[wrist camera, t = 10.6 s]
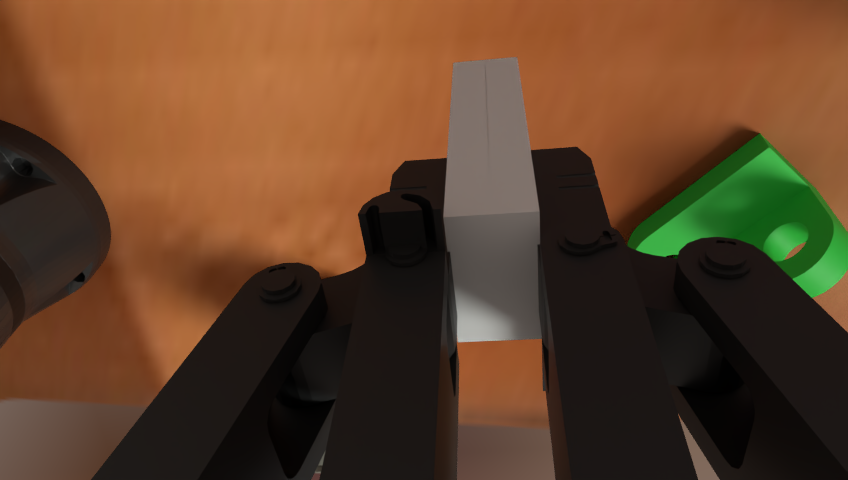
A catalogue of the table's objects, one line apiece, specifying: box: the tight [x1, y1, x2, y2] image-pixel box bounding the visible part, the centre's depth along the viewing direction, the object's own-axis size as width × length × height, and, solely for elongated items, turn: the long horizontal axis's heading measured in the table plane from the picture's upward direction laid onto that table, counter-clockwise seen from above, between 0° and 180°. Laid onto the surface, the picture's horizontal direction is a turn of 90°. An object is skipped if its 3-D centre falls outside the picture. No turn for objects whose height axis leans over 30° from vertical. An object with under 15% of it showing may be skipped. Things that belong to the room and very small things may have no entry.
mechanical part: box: [627, 133, 848, 298], centre depth 42 cm, size 12×6×8 cm, turn 141°
